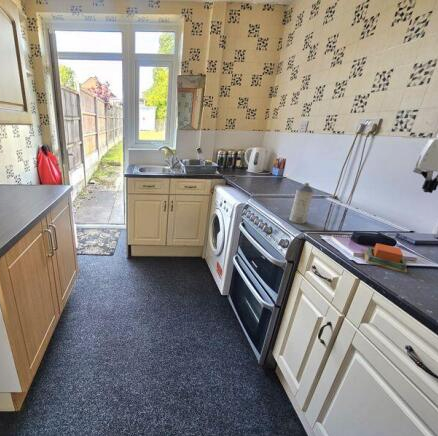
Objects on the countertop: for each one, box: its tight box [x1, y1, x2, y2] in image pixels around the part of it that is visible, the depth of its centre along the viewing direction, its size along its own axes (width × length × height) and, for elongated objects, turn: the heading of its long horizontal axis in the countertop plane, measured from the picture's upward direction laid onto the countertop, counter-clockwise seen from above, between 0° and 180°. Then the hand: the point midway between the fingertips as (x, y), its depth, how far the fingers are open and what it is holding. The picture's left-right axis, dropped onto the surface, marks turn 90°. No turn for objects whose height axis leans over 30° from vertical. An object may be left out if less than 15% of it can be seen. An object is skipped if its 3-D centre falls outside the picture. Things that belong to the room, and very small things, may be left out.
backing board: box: [363, 246, 408, 274], centre depth 88 cm, size 11×11×3 cm
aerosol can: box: [288, 182, 314, 225], centre depth 120 cm, size 7×7×20 cm
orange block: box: [372, 242, 404, 263], centre depth 87 cm, size 6×6×4 cm
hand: (427, 191), depth 83 cm, fingers closed
